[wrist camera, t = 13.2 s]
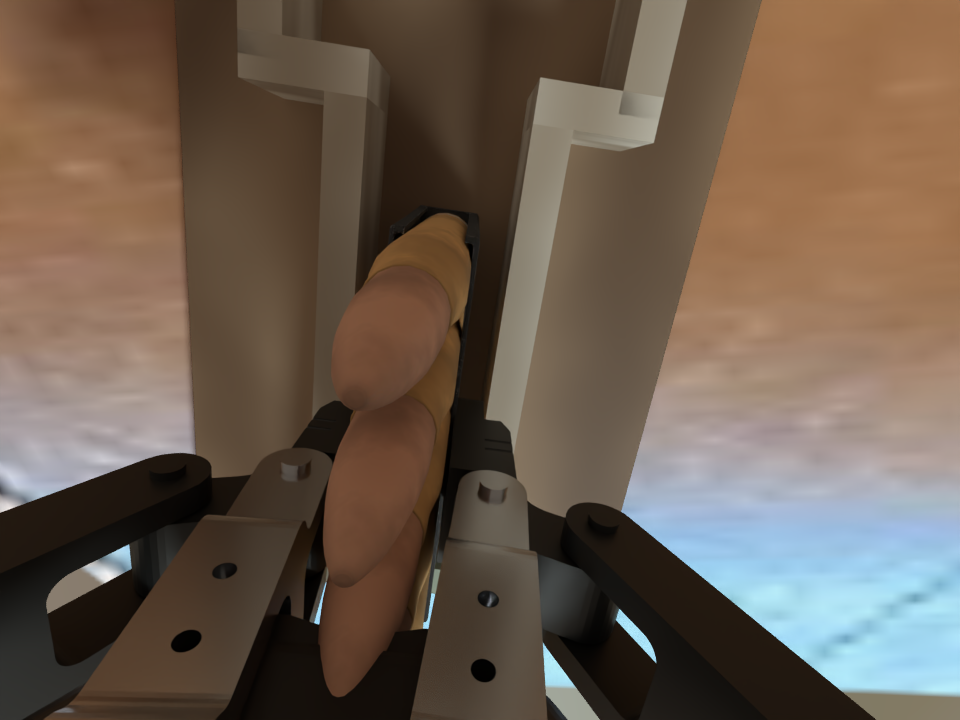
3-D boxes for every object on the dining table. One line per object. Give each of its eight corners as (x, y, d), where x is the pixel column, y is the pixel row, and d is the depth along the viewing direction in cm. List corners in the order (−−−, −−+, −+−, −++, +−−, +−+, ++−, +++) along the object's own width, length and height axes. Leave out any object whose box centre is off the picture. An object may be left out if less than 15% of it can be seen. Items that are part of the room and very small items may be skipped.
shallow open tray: (904, -578, 11) (1112, -949, 7) (604, 540, 21) (631, 614, 17) (160, -762, 10) (-13, -1287, 7) (209, 495, 20) (150, 563, 16)
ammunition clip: (418, 204, 15) (226, 256, 3) (480, 213, 15) (494, 293, 4) (388, 508, 18) (243, 1038, 7) (439, 514, 18) (378, 1047, 7)
